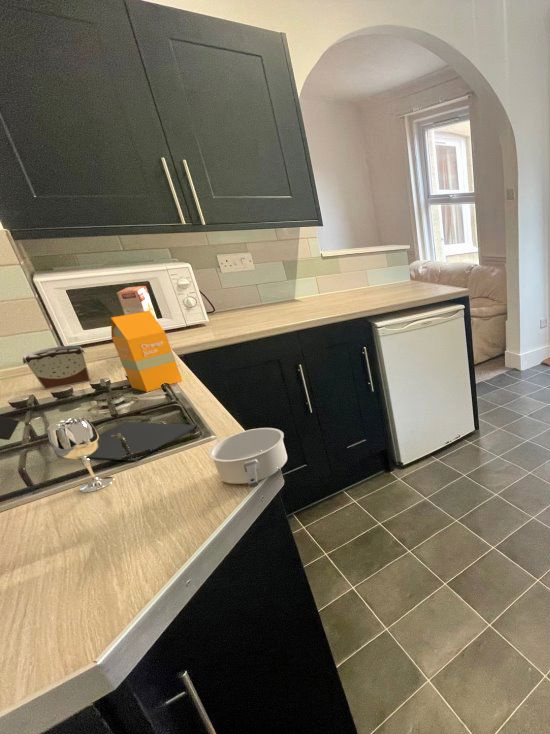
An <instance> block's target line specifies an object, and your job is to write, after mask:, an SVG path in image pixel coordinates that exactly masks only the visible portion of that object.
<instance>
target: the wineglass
mask: <svg viewBox="0 0 550 734" xmlns="http://www.w3.org/2000/svg"><path fill="white" fill-rule="evenodd" d="M46 430H47V438H48V443H49V446H50V448H51V450H52V452H53V453H54V455H56V456H57V457H58V456H59V457H58V458H61V459H64V460H67V461H68V460H70V461H71V460H73V461H75V460H81V464H82V465H83V466H84V467H85V468H86V469H87V471H88V473H89V475H90V478H91V480H90V481H88V482H85V483H84V484H83V485H81V486H80V487H79V492H80V493H91V492H96V491H98V490H101V489H104V488H105V487H108V486H109V485H111V484H112V483H113V482H114V480H115V478H114V477H113V476H102V477H97V476H96V474H95V473H94V471H93V468H92V461H91V459H88V458H87V457H88V456H90V455H91V454H93V453H94V452H96V451H97V450H98V449H99V447H100V445H101V438H100V433H99V431H98V430H97V428H96V427H95V425H94V424H93V423H92V422H91V421H90V420H89V419H88V418H87V417H86V416H78V417H77V416H75V417H70V418H67V419H63V420H60V421H59V420H58V421H57V422H55V423H52V424H50V425H49V426H48V427H47V429H46Z"/></svg>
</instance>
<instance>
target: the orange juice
mask: <svg viewBox="0 0 550 734" xmlns="http://www.w3.org/2000/svg"><path fill="white" fill-rule="evenodd" d="M157 321H158V319H157V320H156V319H155V318H154V316H153V315H152V313H151V312H150V310H148V311H143V312H138V313H132V314H127V315H125V314H122V315H117V316H111V317H110V328H111V331H110V333H111V340H112V342H113V344H114V347H115V350H116V352H117V355H118V357H119V360H120V362H121V365H122V367H123V369H124V371H125V375H126V376H127V380H128V381H129V384H130V387H131V388H132V389H135V390H137V391H141V392H146V393H148V392H151V391H154V390H157V389H160V388H162V387H161V385H162V384H164V383H169V384H170V385H173V384H175V383H178V382H182V381H183V380H182V375H181V374H180V370H179V368H178V364H177V362H176V359H175V356H174V353H173V350H172V348H171V345H170V342H169V340H168V336H167V333H166V331H165V329H164V328H163V327H162V326H161V324H160V323H159V321H158V322H157Z"/></svg>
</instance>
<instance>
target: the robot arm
mask: <svg viewBox="0 0 550 734" xmlns="http://www.w3.org/2000/svg"><path fill="white" fill-rule="evenodd" d="M20 422H21V421H20V420H19V419H14V418H11V417H6V416H4V415H3V416H2V415H0V440H5V441H10V440H11V438H12V436H13V434H14V432H15V431H16V428H17V427H18V425H19V424H20Z"/></svg>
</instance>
